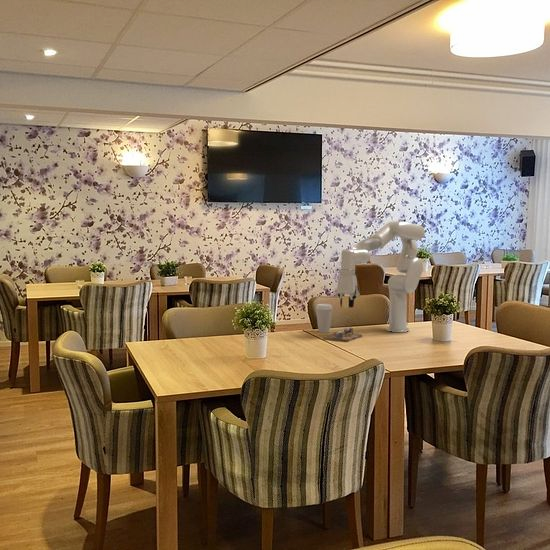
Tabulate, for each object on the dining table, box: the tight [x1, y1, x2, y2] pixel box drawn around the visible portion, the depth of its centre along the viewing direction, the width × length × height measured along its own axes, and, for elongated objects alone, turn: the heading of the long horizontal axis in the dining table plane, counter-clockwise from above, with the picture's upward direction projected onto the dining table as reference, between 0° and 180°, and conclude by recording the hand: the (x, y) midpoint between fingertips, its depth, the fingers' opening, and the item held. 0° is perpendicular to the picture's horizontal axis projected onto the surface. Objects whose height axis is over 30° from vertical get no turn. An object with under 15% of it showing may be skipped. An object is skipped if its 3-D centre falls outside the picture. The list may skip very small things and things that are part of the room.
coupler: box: [341, 295, 351, 309], centre depth 333 cm, size 4×5×6 cm
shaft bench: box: [322, 326, 363, 343], centre depth 329 cm, size 18×14×4 cm
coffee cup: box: [315, 303, 333, 333], centre depth 349 cm, size 10×10×15 cm
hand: (346, 306), depth 333 cm, fingers closed on coupler, 4 cm apart
